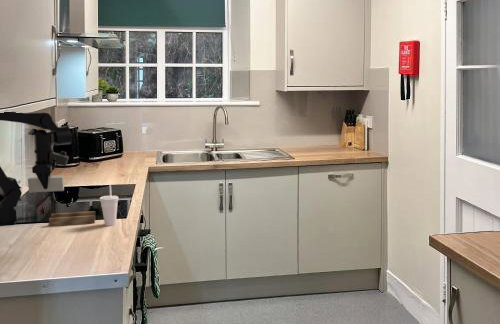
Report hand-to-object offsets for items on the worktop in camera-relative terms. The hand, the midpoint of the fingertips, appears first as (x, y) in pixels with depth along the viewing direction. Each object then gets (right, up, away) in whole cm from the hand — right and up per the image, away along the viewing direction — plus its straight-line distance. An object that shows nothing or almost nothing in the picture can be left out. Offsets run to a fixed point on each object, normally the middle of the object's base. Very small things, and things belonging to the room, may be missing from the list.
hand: (46, 188), depth 199 cm
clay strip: (0, -1, 0) cm, 1 cm away
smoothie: (+27, -12, -12) cm, 32 cm away
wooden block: (+13, -12, -9) cm, 19 cm away
